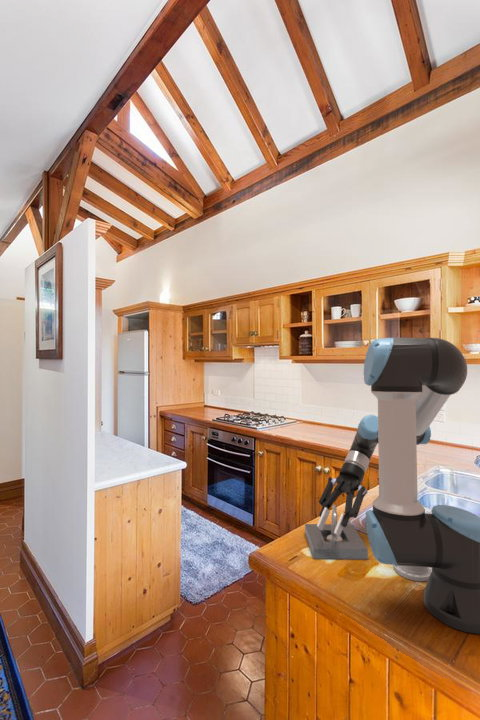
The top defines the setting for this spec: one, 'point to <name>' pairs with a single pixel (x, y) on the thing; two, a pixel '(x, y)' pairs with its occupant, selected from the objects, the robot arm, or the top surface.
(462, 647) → the top surface
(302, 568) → the top surface
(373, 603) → the top surface
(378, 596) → the top surface
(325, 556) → the socket plate
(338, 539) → the screw
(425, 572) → the mechanical component
